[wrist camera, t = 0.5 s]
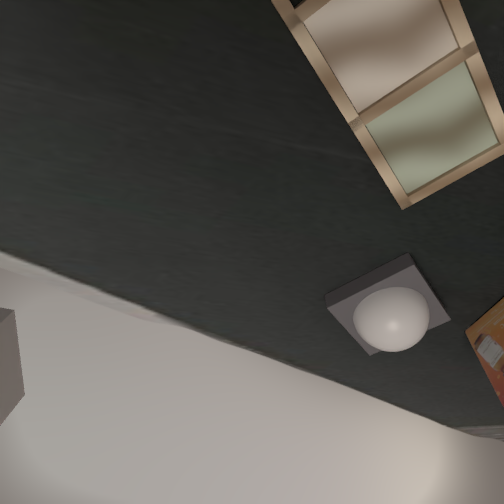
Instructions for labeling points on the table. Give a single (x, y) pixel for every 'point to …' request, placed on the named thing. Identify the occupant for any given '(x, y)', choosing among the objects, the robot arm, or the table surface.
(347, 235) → the table surface
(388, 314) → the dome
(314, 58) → the tan flat wooden frame
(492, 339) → the small box
